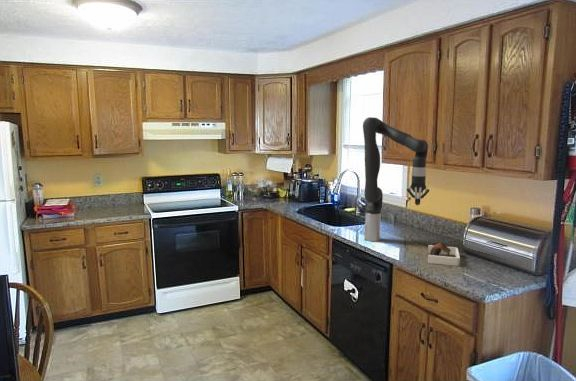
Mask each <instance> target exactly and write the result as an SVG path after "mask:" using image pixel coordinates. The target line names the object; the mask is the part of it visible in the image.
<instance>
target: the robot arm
mask: <svg viewBox="0 0 576 381" xmlns="http://www.w3.org/2000/svg"><path fill="white" fill-rule="evenodd" d="M362 130H363V132H362V133H363V137H364V138H363V139H364V140H363V141H364V175H365V178H364V179H365V182H364V183H365V184H364V198H365V200H366V201H367V205H366V207H365V224H364V238H363V239H364V241H367V242H379V241H381V221H382V220H381V219H382V217H381V216H382V208H383V201H384V200H383V199H384V198H383V193H384V192H383V190H382V189H381V187H379V186H378V178H379V173H380V170H381V169H380V168H381V153H380V148H379V147H378V144H377V134H378V135H383V136H385V137H387V138H388V139H391V140H392V141H393V142H395V143H397V144H399V145H401V146H404V147H406V148H407V149H409V150H411V151H413V152H414V153H415V154H414V157H413V158H412V170H411V184H410V186H409V187H407V189H406V191H407V192H408V194H409V195H410V196H411V197H412V198H414V204H415V206H419V205H421V199H424V197H425V196H427V194H428V193H429V192H430V188H427V185H426V176H427V169H426V168H427V167H426V166H427V165H426V164H427V163H426V162H427V155H428V151H429V144H428V141H426V140H425V139H418V138H415V137H413V136H412V135H411V134H410V133H407V132H405V131H403V130H400V129H397V128H395V127H392V126H390V125H388V124H387V123H385V122H384V121H382V120H380V119H379V118H377V117H372V116H371V117H367V118H365V119H364V121H363V122H362ZM412 191H413V192H412ZM422 193H423V194H422Z"/></svg>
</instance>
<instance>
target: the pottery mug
mask: <svg viewBox="0 0 576 381" xmlns="http://www.w3.org/2000/svg"><path fill="white" fill-rule="evenodd" d="M448 247H449V246H446V245H444V244H443V243H441V242H438V243H436V244H435V245H433V247H432V249H431V252H430V253H429V255H434V256H440V252H441V250H443V251H445V252H447V253H448V254H447V256H446V257H450V251H451V250H450V249H449V248H448Z"/></svg>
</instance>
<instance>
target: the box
mask: <svg viewBox="0 0 576 381" xmlns="http://www.w3.org/2000/svg"><path fill="white" fill-rule="evenodd" d="M433 246H434V245H432V244H428V247H427V250H428V251H427V253H429V254H428V255H427V264H434V265H435V264H436V265H444V266H456V267H460V264H461V257H460V253H459V252H460V251H459V248H458V247H457V246H456V247H455V246H447V247H448V248H449V249H450V250H451V251H450V255H453V256H454V257H453V256H450V255H449V257H447V256H444V255H448V253H447V252H445V251H443V250H441V252H440V254H442V255H440V254H439V256H434V255H430V252H431V249H432V247H433Z"/></svg>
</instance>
